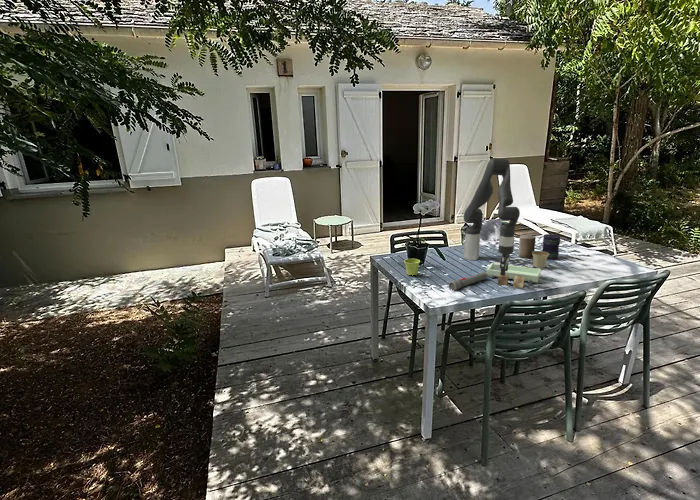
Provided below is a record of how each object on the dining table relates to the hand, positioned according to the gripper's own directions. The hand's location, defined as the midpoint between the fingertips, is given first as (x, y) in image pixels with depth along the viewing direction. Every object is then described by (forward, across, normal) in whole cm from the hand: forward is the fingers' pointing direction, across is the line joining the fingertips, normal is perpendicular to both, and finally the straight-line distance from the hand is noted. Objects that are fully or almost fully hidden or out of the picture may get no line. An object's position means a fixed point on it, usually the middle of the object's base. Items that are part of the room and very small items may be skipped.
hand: (504, 273), depth 209 cm
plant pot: (+6, +8, -50) cm, 51 cm away
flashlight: (+7, +8, -16) cm, 20 cm away
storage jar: (+6, -62, +18) cm, 65 cm away
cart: (+6, -14, +3) cm, 16 cm away
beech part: (+6, 0, +8) cm, 10 cm away
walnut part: (+6, 0, 0) cm, 7 cm away
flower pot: (+6, -40, +14) cm, 43 cm away
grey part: (+4, -14, -5) cm, 16 cm away
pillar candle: (+6, -59, +4) cm, 60 cm away
